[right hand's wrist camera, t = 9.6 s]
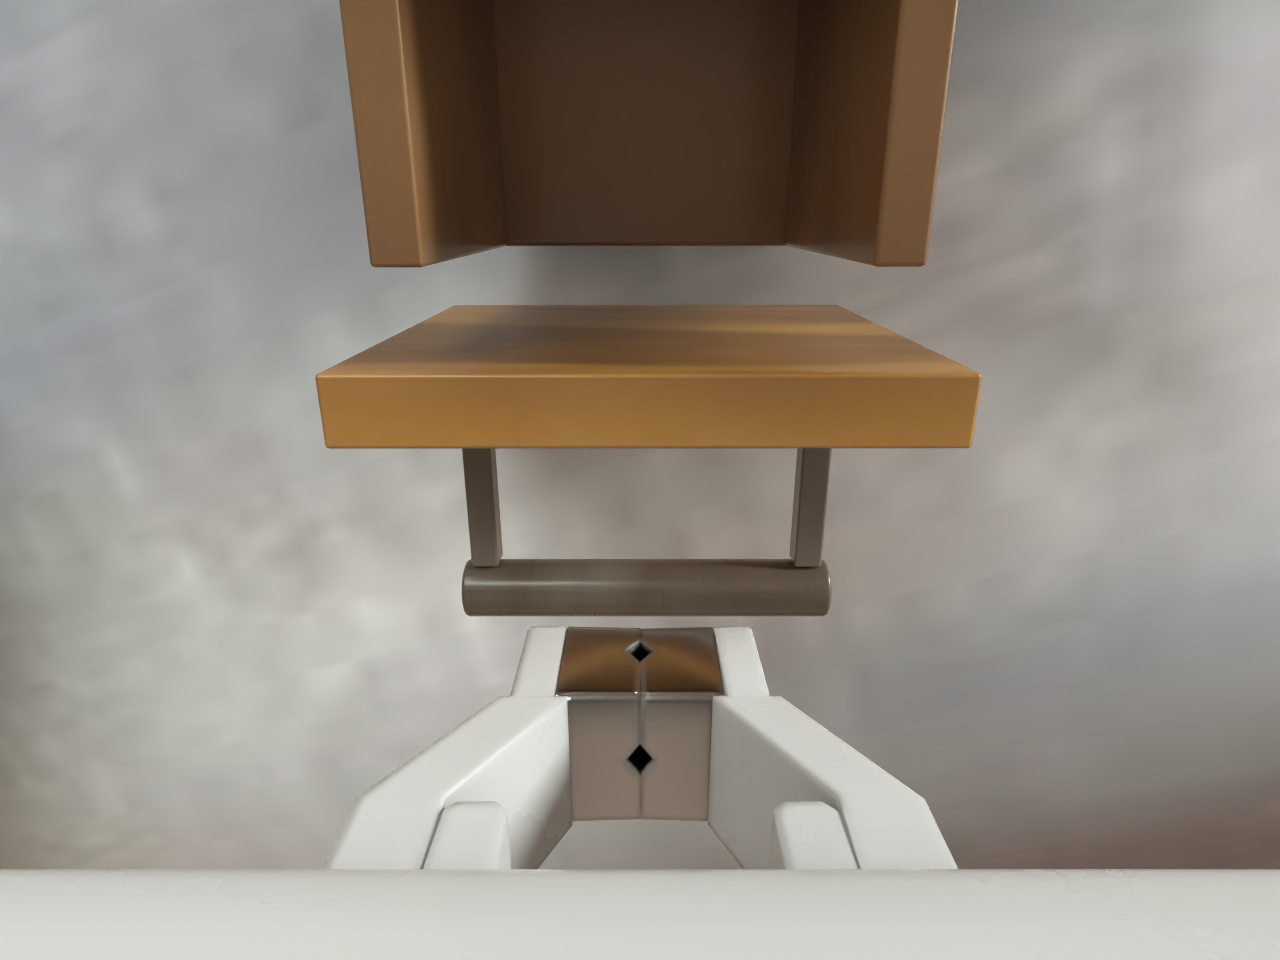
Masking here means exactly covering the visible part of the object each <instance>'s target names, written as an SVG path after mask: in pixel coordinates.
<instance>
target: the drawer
mask: <svg viewBox="0 0 1280 960" xmlns="http://www.w3.org/2000/svg"><path fill="white" fill-rule="evenodd" d="M339 1H340V9H341V18H342V26H343V35H344V43H345V52H346V60H347V69H348V77H349V86H350V94H351V103H352V111H353V119H354V128H355V136H356V145H357V153H358V162H359V170H360V179H361V187H362V196H363V204H364V213H365V221H366V229H367V238H368V246H369V255H370V263H371V265H372V266H373V267H423V266H427V265H431V264H435V263H439V262H443V261H447V260H451V259H455V258H459V257H463V256H467V255H471V254H475V253H479V252H483V251H487V250H491V249H495V248H499V247H503V246H791V247H795V248H800V249H804V250H808V251H813V252H817V253H821V254H825V255H830V256H834V257H838V258H843V259H847V260H851V261H856V262H860V263H864V264H869V265H873V266H877V267H920V266H923V265H925V263H926V261H927V253H928V244H929V236H930V228H931V220H932V212H933V204H934V196H935V188H936V179H937V171H938V163H939V155H940V147H941V139H942V131H943V123H944V114H945V106H946V98H947V90H948V82H949V74H950V66H951V58H952V49H953V41H954V33H955V25H956V17H957V9H958V1H959V0H339ZM981 379H982V377H981V374H979V373H977V372H975V371H973V370H971V369H969V368H967V367H965V366H963V365H961V364H958V363H956V362H954V361H952V360H950V359H948V358H946V357H944V356H942V355H940V354H938V353H935V352H933V351H931V350H929V349H927V348H925V347H923V346H921V345H919V344H917V343H915V342H912V341H910V340H908V339H906V338H904V337H902V336H900V335H898V334H896V333H894V332H892V331H889V330H887V329H885V328H883V327H881V326H879V325H877V324H875V323H873V322H871V321H869V320H866V319H864V318H862V317H860V316H858V315H856V314H854V313H852V312H850V311H848V310H846V309H843V308H841V307H839V306H837V305H467V306H453V307H451V308H449V309H447V310H445V311H443V312H441V313H439V314H437V315H435V316H433V317H431V318H429V319H427V320H425V321H423V322H421V323H419V324H417V325H415V326H413V327H411V328H409V329H407V330H405V331H403V332H401V333H399V334H397V335H395V336H393V337H391V338H389V339H387V340H385V341H383V342H381V343H379V344H377V345H375V346H373V347H371V348H369V349H367V350H365V351H363V352H361V353H359V354H357V355H355V356H353V357H351V358H349V359H347V360H345V361H343V362H341V363H339V364H337V365H335V366H333V367H331V368H329V369H327V370H325V371H323V372H321V373H319V374H317V375H316V385H317V391H318V398H319V405H320V411H321V418H322V425H323V432H324V438H325V445H326V447H327V448H462V453H463V465H464V476H465V488H466V500H467V511H468V523H469V535H470V547H471V558H472V559H471V560H469V561H468V562H467V563H466V566H465V569H464V573H463V579H462V603H463V608H464V611H465V613H466V615H468V616H824V615H826V614H827V613H828V611H829V607H830V602H831V579H830V573H829V569H828V566H827V564H826V562H825V561H824V560H822V548H823V537H824V526H825V514H826V503H827V492H828V481H829V469H830V458H831V448H969V447H970V446H971V444H972V438H973V431H974V425H975V418H976V412H977V405H978V399H979V392H980V386H981ZM495 448H797V462H796V475H795V489H794V503H793V516H792V530H791V544H790V557H791V559H501V558H502V555H503V552H502V538H501V524H500V509H499V495H498V480H497V466H496V452H495Z"/></svg>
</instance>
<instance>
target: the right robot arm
mask: <svg viewBox="0 0 1280 960" xmlns="http://www.w3.org/2000/svg"><path fill="white" fill-rule="evenodd" d="M623 819H655V820H691V821H708V825H709V826H710V828H711V829H712V830H713V831H714V833H715V834H716V835H717V836H718V838H719V839H720V840H721V842H722V843H723V844H724V845H725V847H726V848H727V849H728V851H729V852H730V853H731V854H732V856H733V857H734V858H735V859H736V861H737V862H738V863H739V865H740V866H741V867H742V868H743V869H538V868H539V866H540V865H541V864H542V863H543V861H544V860H545V859H546V858H547V856H548V855H549V854H550V852H551V851H552V850H553V849H554V847H555V846H556V845H557V844H558V842H559V841H560V840H561V838H562V837H563V836H564V835H565V833H566V832H567V831H568V830H569V828H570V827H571V826H572V821H589V820H623ZM0 960H1280V869H958V868H957V865H956V863H955V861H954V859H953V857H952V855H951V853H950V851H949V849H948V847H947V845H946V843H945V840H944V838H943V836H942V834H941V832H940V830H939V828H938V826H937V824H936V822H935V820H934V818H933V815H932V813H931V811H930V809H929V807H928V805H927V803H926V801H925V799H924V798H922V797H921V796H919V795H918V794H917V793H915V792H914V791H912V790H911V789H910V788H908V787H907V786H905V785H904V784H903V783H901V782H900V781H898V780H897V779H896V778H894V777H893V776H891V775H890V774H889V773H887V772H886V771H884V770H883V769H882V768H880V767H879V766H877V765H876V764H875V763H873V762H872V761H870V760H869V759H868V758H866V757H865V756H863V755H862V754H861V753H859V752H858V751H856V750H855V749H854V748H852V747H851V746H849V745H848V744H847V743H845V742H844V741H842V740H841V739H840V738H838V737H837V736H835V735H834V734H833V733H831V732H830V731H828V730H827V729H826V728H824V727H823V726H821V725H820V724H819V723H817V722H816V721H814V720H813V719H812V718H810V717H809V716H807V715H806V714H805V713H803V712H802V711H800V710H799V709H798V708H796V707H795V706H793V705H792V704H791V703H789V702H788V701H786V700H785V699H784V698H782V697H781V696H770V695H769V691H768V687H767V684H766V680H765V676H764V673H763V669H762V665H761V662H760V658H759V654H758V651H757V647H756V643H755V639H754V636H753V632H752V629H751V628H750V627H749V626H734V627H700V628H660V629H640V628H604V627H568V628H567V627H566V626H549V627H531V628H530V629H529V630H528V631H527V635H526V639H525V642H524V646H523V650H522V654H521V657H520V661H519V665H518V669H517V672H516V676H515V680H514V684H513V687H512V691H511V695H510V696H499V697H498V698H497V699H495V700H494V701H492V702H491V703H489V704H488V705H487V706H485V707H484V708H482V709H481V710H480V711H478V712H477V713H475V714H474V715H473V716H471V717H470V718H468V719H467V720H466V721H464V722H463V723H461V724H460V725H459V726H457V727H456V728H454V729H453V730H451V731H450V732H449V733H447V734H446V735H444V736H443V737H442V738H440V739H439V740H437V741H436V742H435V743H433V744H432V745H430V746H429V747H428V748H426V749H425V750H423V751H422V752H421V753H419V754H418V755H416V756H415V757H413V758H412V759H411V760H409V761H408V762H406V763H405V764H404V765H402V766H401V767H399V768H398V769H397V770H395V771H394V772H392V773H391V774H390V775H388V776H387V777H385V778H384V779H383V780H381V781H380V782H378V783H377V784H375V785H374V786H373V787H371V788H370V789H368V790H367V791H366V792H364V793H363V794H361V795H360V796H359V797H357V798H356V800H355V802H354V804H353V806H352V808H351V810H350V812H349V814H348V816H347V818H346V820H345V822H344V824H343V826H342V829H341V831H340V833H339V835H338V837H337V839H336V841H335V843H334V845H333V847H332V849H331V851H330V853H329V855H328V857H327V859H326V861H325V863H324V866H323V868H322V869H0Z"/></svg>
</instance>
